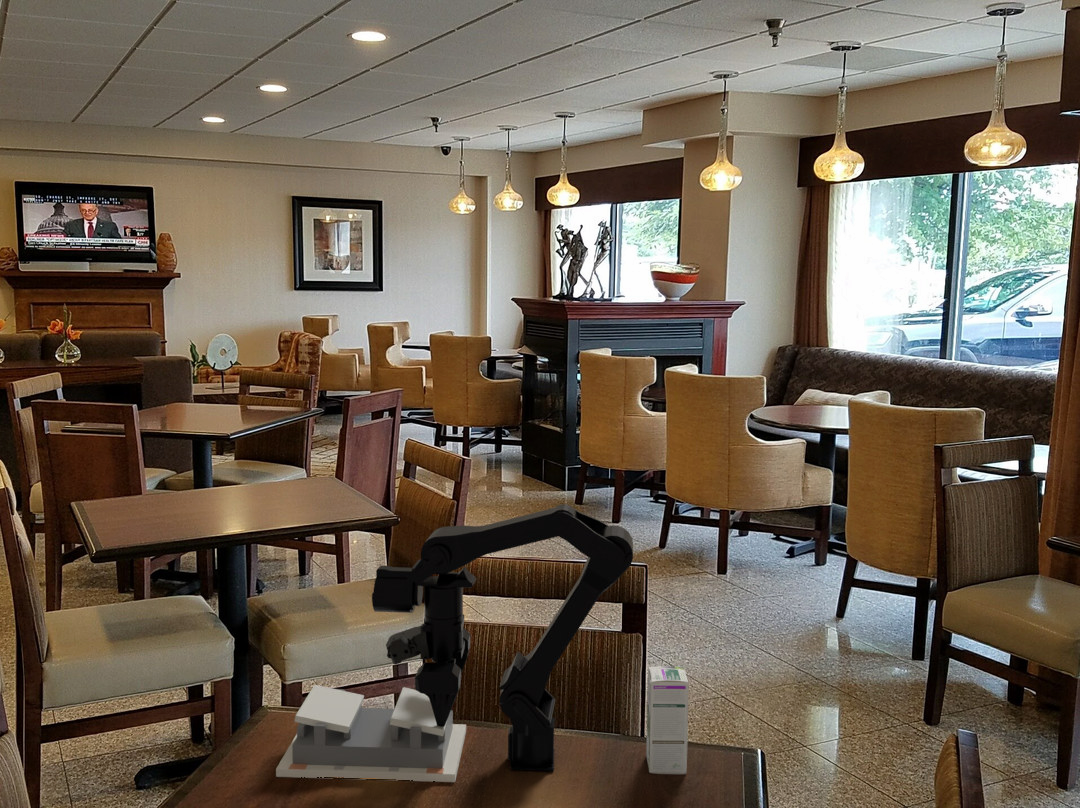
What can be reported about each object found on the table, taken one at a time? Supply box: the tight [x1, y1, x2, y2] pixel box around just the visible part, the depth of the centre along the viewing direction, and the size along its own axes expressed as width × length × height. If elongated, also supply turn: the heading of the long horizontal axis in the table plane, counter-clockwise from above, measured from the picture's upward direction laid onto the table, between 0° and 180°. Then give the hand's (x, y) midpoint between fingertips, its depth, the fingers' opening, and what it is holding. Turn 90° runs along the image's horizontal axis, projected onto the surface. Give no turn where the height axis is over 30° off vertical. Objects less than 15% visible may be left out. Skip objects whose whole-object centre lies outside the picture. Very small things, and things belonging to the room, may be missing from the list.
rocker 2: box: [390, 687, 448, 736], centre depth 149 cm, size 8×11×2 cm
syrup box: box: [645, 665, 689, 775], centre depth 147 cm, size 6×6×14 cm
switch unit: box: [275, 688, 467, 783], centre depth 150 cm, size 26×16×7 cm, turn 89°
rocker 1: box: [294, 684, 365, 733], centre depth 150 cm, size 8×11×2 cm
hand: (444, 712), depth 149 cm, fingers open, 9 cm apart
